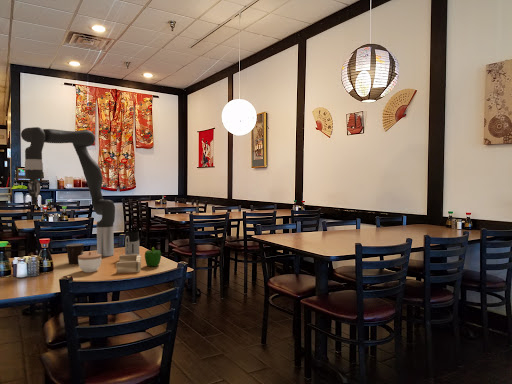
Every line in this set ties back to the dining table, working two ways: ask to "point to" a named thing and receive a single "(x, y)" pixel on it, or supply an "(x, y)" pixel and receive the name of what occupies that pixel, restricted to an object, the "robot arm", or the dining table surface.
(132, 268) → the cedar bay
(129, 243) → the electric kettle
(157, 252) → the bell pepper
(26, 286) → the dining table surface
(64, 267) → the dining table surface
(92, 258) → the lidded jar
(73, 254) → the coffee mug
